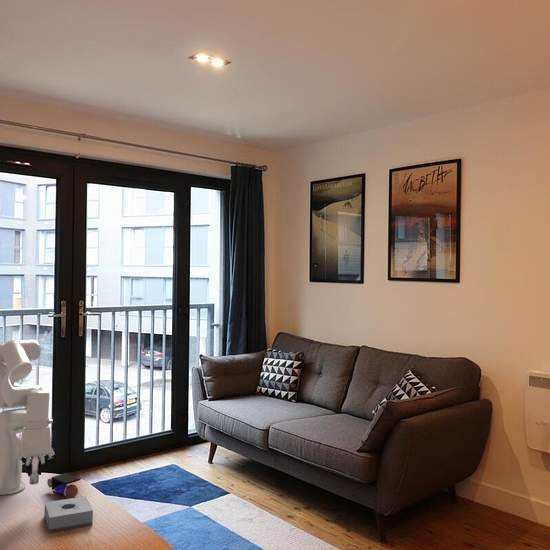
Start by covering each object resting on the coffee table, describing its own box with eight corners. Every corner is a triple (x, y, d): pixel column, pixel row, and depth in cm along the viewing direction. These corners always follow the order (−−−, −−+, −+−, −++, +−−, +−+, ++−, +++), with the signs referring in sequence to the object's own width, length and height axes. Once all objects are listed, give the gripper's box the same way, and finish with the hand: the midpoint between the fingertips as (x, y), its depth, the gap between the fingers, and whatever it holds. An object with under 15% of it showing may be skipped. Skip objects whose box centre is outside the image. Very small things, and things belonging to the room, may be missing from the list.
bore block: (44, 516, 195) (44, 502, 195) (85, 509, 202) (85, 496, 202) (49, 532, 183) (49, 517, 183) (92, 524, 189) (92, 510, 189)
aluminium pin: (29, 481, 199) (30, 451, 199) (38, 480, 201) (39, 451, 201) (29, 484, 197) (31, 454, 197) (38, 483, 198) (40, 453, 198)
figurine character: (45, 495, 218) (66, 501, 208) (45, 475, 218) (66, 480, 209) (61, 491, 223) (82, 496, 214) (61, 471, 224) (82, 476, 214)
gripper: (59, 419, 206) (57, 468, 206) (11, 423, 198) (8, 473, 198) (62, 424, 199) (59, 475, 199) (12, 429, 191) (10, 481, 191)
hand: (34, 473), depth 199 cm, fingers closed on aluminium pin, 3 cm apart
